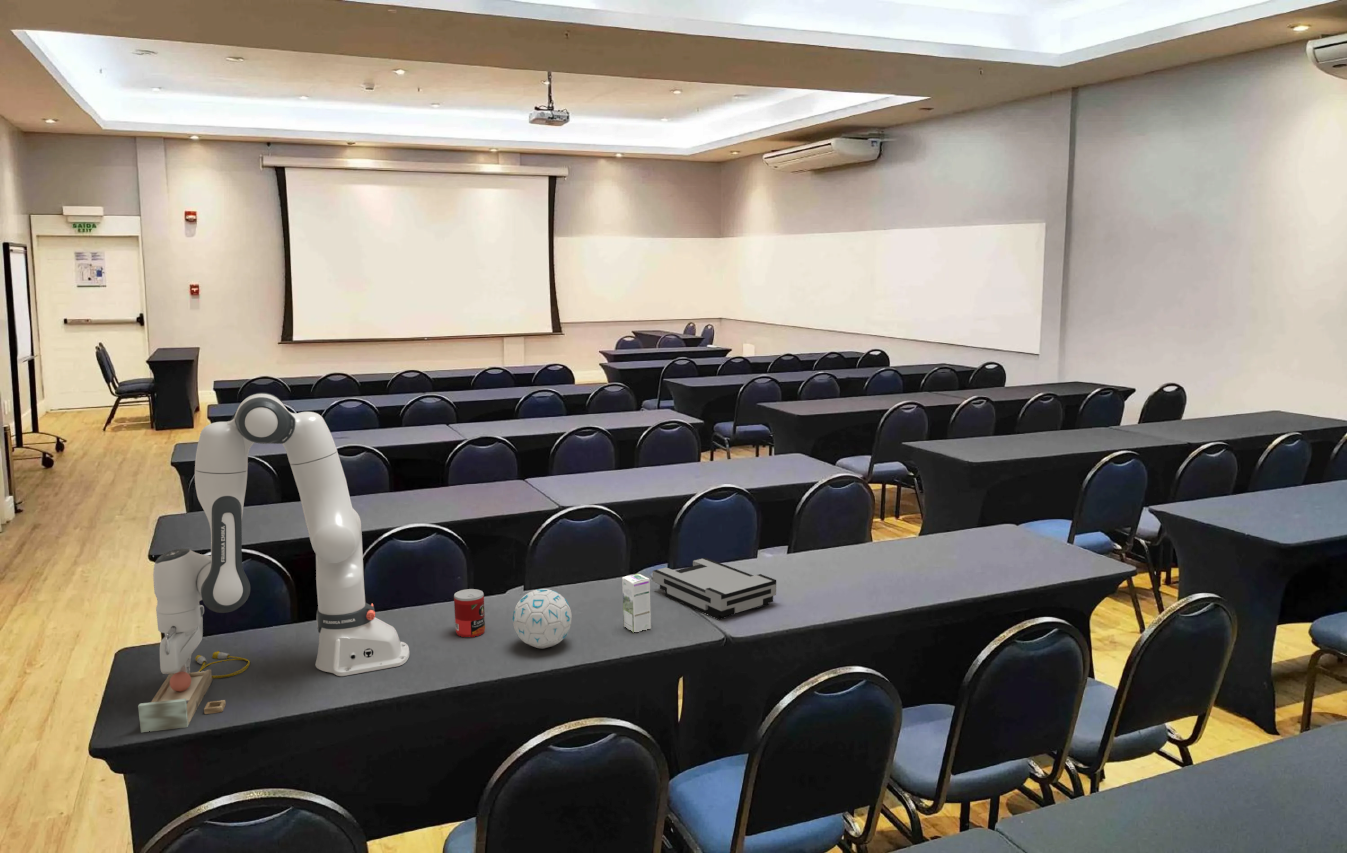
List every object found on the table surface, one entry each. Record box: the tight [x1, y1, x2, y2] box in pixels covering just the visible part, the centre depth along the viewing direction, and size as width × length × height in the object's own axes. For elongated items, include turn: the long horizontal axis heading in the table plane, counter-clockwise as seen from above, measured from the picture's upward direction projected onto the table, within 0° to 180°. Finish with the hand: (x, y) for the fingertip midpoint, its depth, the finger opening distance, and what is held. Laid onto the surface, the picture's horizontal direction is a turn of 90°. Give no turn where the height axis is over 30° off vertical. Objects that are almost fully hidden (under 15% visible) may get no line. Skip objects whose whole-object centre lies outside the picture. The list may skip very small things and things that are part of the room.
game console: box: [652, 557, 777, 620], centre depth 276 cm, size 21×32×8 cm, turn 37°
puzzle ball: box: [512, 588, 573, 649], centre depth 242 cm, size 15×15×15 cm
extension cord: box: [194, 650, 251, 679], centre depth 232 cm, size 12×16×2 cm
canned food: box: [453, 588, 486, 638], centre depth 251 cm, size 8×8×11 cm
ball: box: [170, 672, 191, 692], centre depth 214 cm, size 4×4×4 cm
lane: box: [137, 668, 213, 733], centre depth 211 cm, size 9×24×6 cm, turn 14°
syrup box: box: [621, 573, 652, 634], centre depth 253 cm, size 6×6×14 cm
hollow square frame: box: [203, 699, 227, 715], centre depth 209 cm, size 4×4×1 cm
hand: (184, 675), depth 218 cm, fingers closed
